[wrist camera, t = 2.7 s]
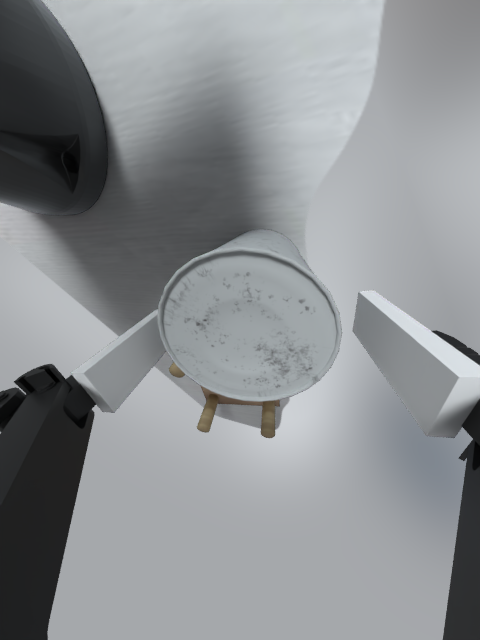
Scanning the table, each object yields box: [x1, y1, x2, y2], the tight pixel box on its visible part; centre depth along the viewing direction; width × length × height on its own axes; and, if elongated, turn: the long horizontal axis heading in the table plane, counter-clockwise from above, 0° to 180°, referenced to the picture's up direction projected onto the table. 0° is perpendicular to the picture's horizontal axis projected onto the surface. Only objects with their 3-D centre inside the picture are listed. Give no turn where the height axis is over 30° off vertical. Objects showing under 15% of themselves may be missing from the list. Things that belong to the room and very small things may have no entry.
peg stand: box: [169, 362, 280, 438], centre depth 24 cm, size 14×12×7 cm
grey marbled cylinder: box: [157, 229, 342, 402], centre depth 15 cm, size 10×10×12 cm
